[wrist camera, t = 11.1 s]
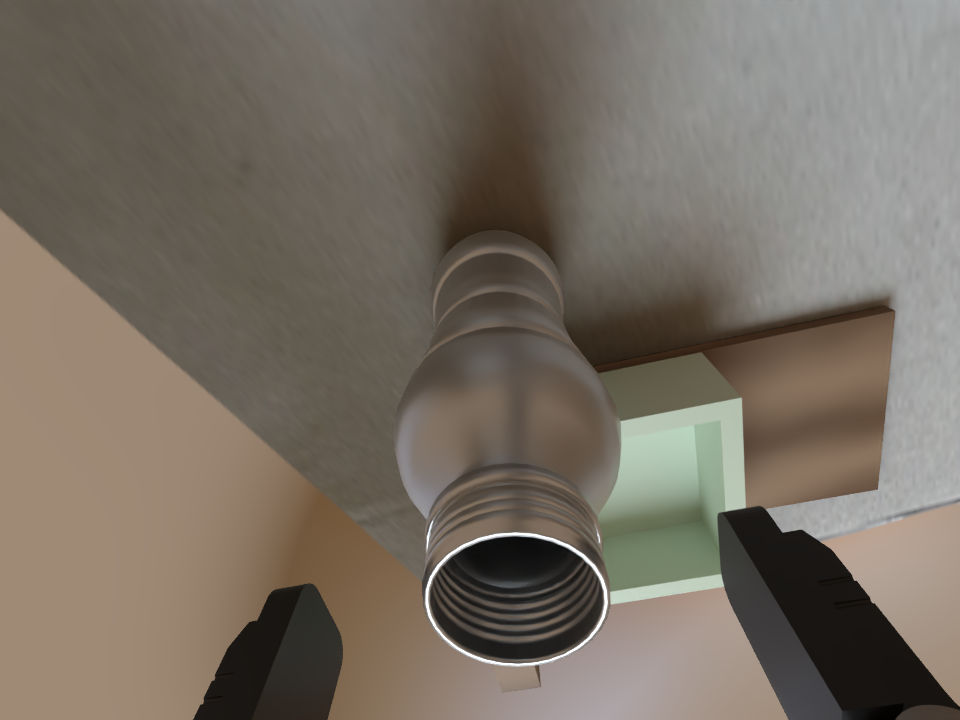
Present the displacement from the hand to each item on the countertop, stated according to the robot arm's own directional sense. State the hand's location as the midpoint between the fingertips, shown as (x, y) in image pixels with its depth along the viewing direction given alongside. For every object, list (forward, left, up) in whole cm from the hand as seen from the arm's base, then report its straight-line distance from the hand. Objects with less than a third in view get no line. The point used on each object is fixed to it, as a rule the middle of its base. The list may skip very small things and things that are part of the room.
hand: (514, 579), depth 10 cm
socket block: (+12, +4, -19) cm, 22 cm away
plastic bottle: (0, 0, -20) cm, 20 cm away
